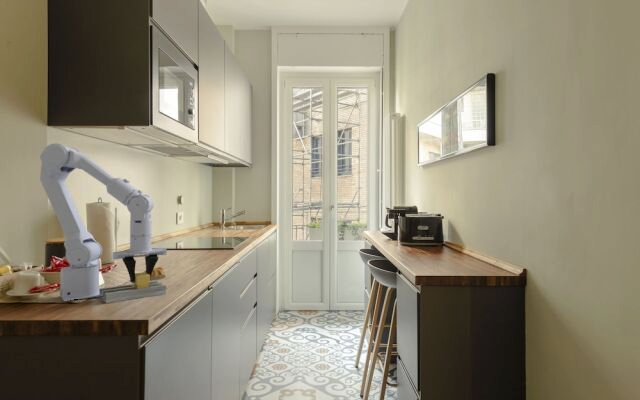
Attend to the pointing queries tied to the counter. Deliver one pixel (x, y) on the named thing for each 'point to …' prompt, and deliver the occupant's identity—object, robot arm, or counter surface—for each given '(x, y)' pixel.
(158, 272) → the pastry
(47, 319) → the counter surface
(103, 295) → the rail
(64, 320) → the counter surface
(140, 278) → the yellow block with ridge
